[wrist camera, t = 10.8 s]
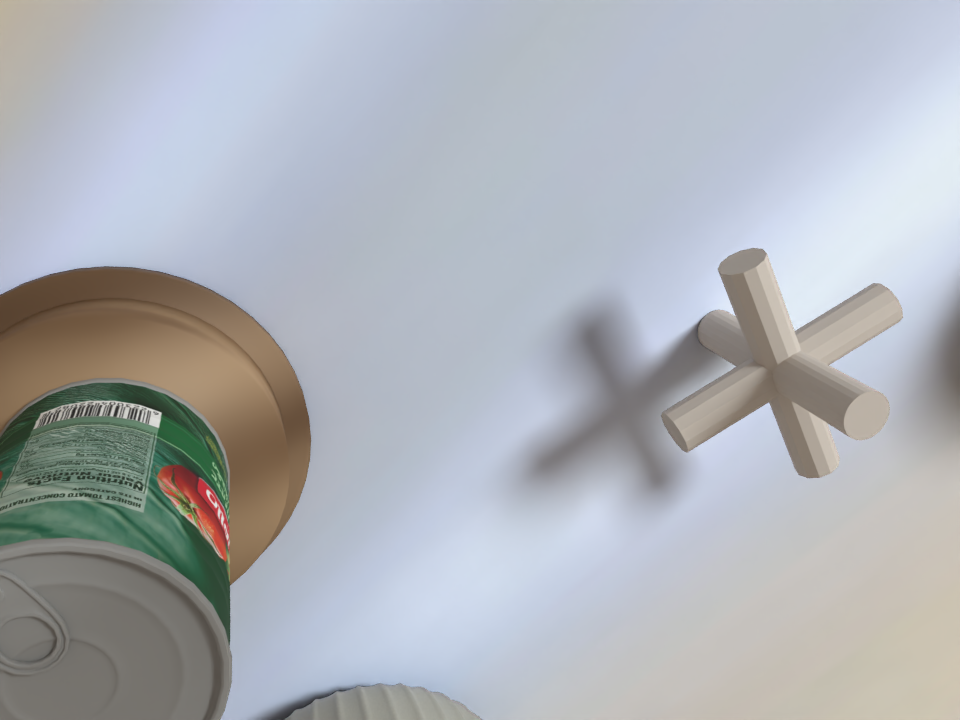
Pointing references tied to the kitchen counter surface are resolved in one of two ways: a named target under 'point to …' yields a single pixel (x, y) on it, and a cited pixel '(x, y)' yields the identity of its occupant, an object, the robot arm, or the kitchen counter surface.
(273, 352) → the pedestal
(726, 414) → the pipe connector
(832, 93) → the kitchen counter surface
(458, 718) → the canister
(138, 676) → the canned tomato
